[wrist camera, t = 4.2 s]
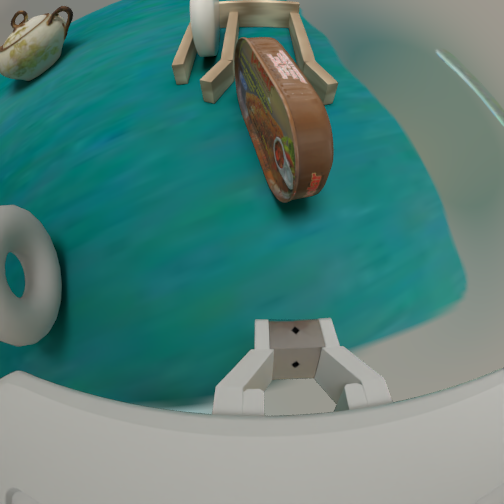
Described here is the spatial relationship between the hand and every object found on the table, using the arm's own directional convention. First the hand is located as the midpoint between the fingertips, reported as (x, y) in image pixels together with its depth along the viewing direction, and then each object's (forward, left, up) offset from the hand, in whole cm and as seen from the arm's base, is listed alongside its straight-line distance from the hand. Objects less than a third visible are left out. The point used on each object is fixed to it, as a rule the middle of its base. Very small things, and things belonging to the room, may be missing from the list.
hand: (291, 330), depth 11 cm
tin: (0, +15, -8) cm, 17 cm away
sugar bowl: (-41, +42, -8) cm, 59 cm away
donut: (-18, +2, -8) cm, 20 cm away
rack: (-2, +30, -7) cm, 31 cm away
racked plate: (-7, +32, -7) cm, 33 cm away
